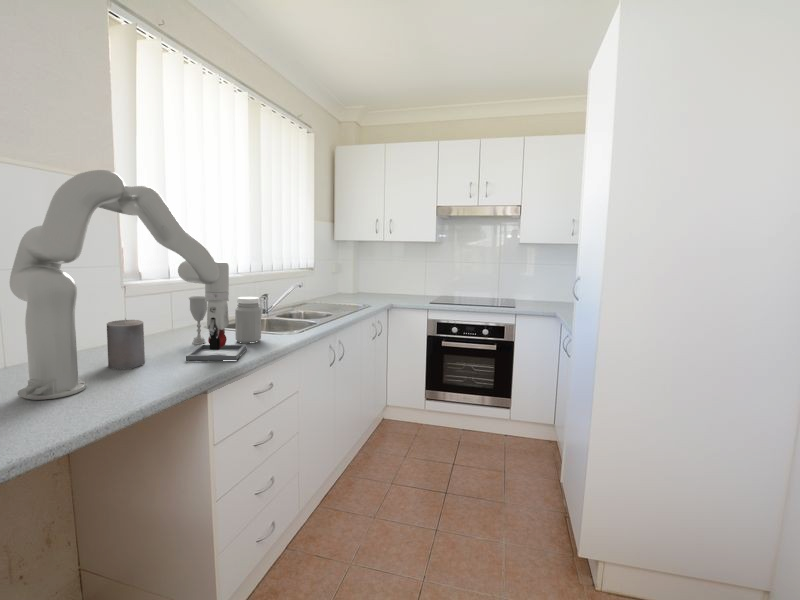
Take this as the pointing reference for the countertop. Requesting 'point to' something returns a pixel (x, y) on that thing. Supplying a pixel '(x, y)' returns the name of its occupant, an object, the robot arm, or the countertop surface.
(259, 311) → the jar
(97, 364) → the countertop surface
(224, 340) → the onion
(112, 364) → the pillar candle
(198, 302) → the chalice
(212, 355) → the tray
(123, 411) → the countertop surface
